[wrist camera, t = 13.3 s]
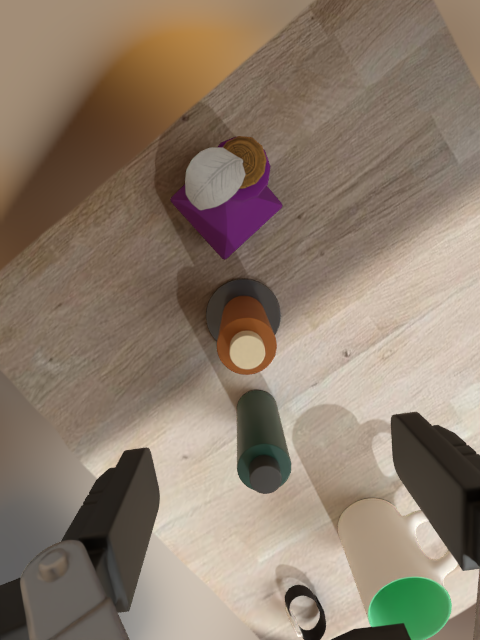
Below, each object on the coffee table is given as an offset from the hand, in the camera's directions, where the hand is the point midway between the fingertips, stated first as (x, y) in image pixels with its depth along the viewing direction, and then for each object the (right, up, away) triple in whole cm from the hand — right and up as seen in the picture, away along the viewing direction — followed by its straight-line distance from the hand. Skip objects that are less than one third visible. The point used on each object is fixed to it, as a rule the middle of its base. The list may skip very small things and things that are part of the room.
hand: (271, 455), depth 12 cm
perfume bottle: (-2, +16, +24) cm, 29 cm away
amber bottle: (-1, +5, +26) cm, 27 cm away
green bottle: (+1, -6, +29) cm, 30 cm away
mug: (+17, -20, +32) cm, 42 cm away
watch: (+7, -33, +35) cm, 49 cm away
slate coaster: (-1, +5, +27) cm, 27 cm away
